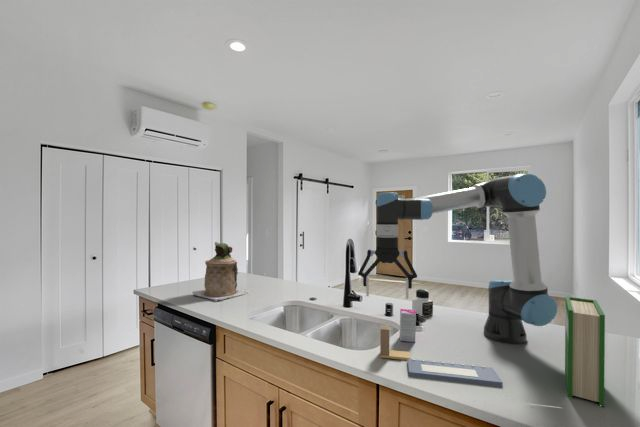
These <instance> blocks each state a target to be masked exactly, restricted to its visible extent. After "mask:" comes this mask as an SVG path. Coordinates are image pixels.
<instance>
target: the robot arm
mask: <svg viewBox="0 0 640 427" xmlns="http://www.w3.org/2000/svg"><path fill="white" fill-rule="evenodd" d="M546 197H547V188H546V186H545V183H544V182H543V180H542V179H541V178H540V177H538V176H537V175H535V174H532V173H517V174H512V175H507V176H500V177H496V178H495V179H490V180H488V181H484V182H481V183H476V184H473V185H472V186H471V187H469V188H468V187H467V188H461V189H457V190H449V191H445V192H438V193H434V194H430V195H429V194H428V195H422V196H417V197H413V198H399V193H398V192H379V193H378V194H377V195H376V204H375V207H376V226H375V227H376V229H375V230H376V231H375V232H376V236H377V237H376V242H375V244H376V245H375V246H376V248H375V250H374V249H373V250H372V249H371V248H369V249H367V254H366V257H365V259H364V261H363V263H362V264H361V267H360V269H359V271H358V273H357V274H358V276H360V277H362V279H363V280H362V282H363V284H362V285H363V287H366V288H365V290H366V291H365V292H366V293H365V294H366V297H369V295H370V276H369V275H370V274H371V272H372V271H373V270H374V269H375V268H376V267H377V266H378V264H379V263H380V262H381V263H383V264H393V263H394V264H395V265H396V266H397V267H398V269H400V270H401V272H402V273H403V274H404V275H405V299H407V300H408V299H409V289H412V287H413V286H412V285H413V279H416V278H418V275H417V272H416V271H415V268H414V267H413V264H412V263H411V261H410V258H409V257H408V256H409V255H408V251H407V250H406V249H405V250H399V238H398V235H399V220H400V221H401V220H409V221H410V220H413V221H414V220H415V221H417V220H418V221H419V220H420V221H423V220H429V219H431V217H432V216H433V214H439V213H443V212H449V211H450V212H451V211H454V210H459V209H467V208H472V207H476V208H477V209H478V208H479V209H480V208H487V207H490V208H491V207H493V208H494V207H496V208H501V213H502V214H503V215H504V216H506V217H507V226H508V238H509V246H510V258H511V265H512V266H511V268H512V276H513V278H512V279H491V280H490V281H489V283H488V289H487V290H488V315H487V317H486V321H485V322H484V323H485V324H484V326H483V335H484V336H486V337H487V338H488V339H491V340H493V341H497V342H500V343H506V344H514V345H515V344H516V345H517V344H525V343H526V342H527V332H526V330H525V327H524V323H525V324H528V325H533V326H534V327H543V326H546V325H548V324H550V323H552V321H553V320H555V318H556V316H557V313H558V304H557V301H556V300H555V299H554V298H553V297H552V296H550V295H549V290H548V286H547V285H546V284H545V283H544V282H543V281H542V272H541V263H540V262H541V261H540V254H539V252H540V250H539V243H538V242H539V240H538V231H537V221H536V215H537V213H539V211H541V208H540V205H541V204H542V203H543V202H544V199H546ZM373 255H375V256H376V257H377V258H376V259H375V261H373V263H372V264H371V265H370V266H369V267H368V269H367V270H366V271H365V272H364V270H365V268H366V266H367V264H368V262H369V260H370V258H371V257H373ZM399 256H401V257H402V258H404V260H405V262H406V264H407V266H408V269H409V270H410V272H411V274H410V273H409V271H408V270H407V269H406V268H405V266H404V265H403V264H401V261H400V260H399V259H398V257H399ZM523 322H524V323H523Z"/></svg>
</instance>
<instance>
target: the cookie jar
mask: <svg viewBox="0 0 640 427" xmlns="http://www.w3.org/2000/svg"><path fill="white" fill-rule="evenodd" d="M214 251H215V255H214V256H213V257H212V258H210V259H208V260H204V261H205V262H204V263H205V265H206V269H205V275H204V289H201V290H196V291H192V295H193V297H194V296H196V297H200V298H204V299H208V300H210V301H214V302H218V301H224V300H227V299H231V298H232V299H233V298H236V297H240V296H243V295H248V293H249V290H248V289H242V288H238V283H237V281H238V277H237V276H238V273H239V272H238V271H239V270H238V262H237V260H236V259H235V258H233V257H232V255H231V253H232V252H233V247H232V246H229V245H228V244H227V243H224V242H222V243H221V242H217V241H215V242H214Z"/></svg>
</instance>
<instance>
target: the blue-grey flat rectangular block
mask: <svg viewBox="0 0 640 427" xmlns="http://www.w3.org/2000/svg"><path fill="white" fill-rule="evenodd" d="M407 369H408V376H409V377H415V378H422V379H423V378H425V379H433V380H441V381H442V380H443V381H449V382H450V381H452V382H460V383H469V384H475V385H476V384H477V385H483V386H494V387H501V388H502V387H503V381H502V380H501V378H500V376H499V375H498V373H497V372H496V371H495V369H494V368H493V366H484V365H473V364H464V363H454V362H444V361H434V360H426V359H425V360H424V359H416V358H415V359H414V358H410V359H408V360H407Z"/></svg>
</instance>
